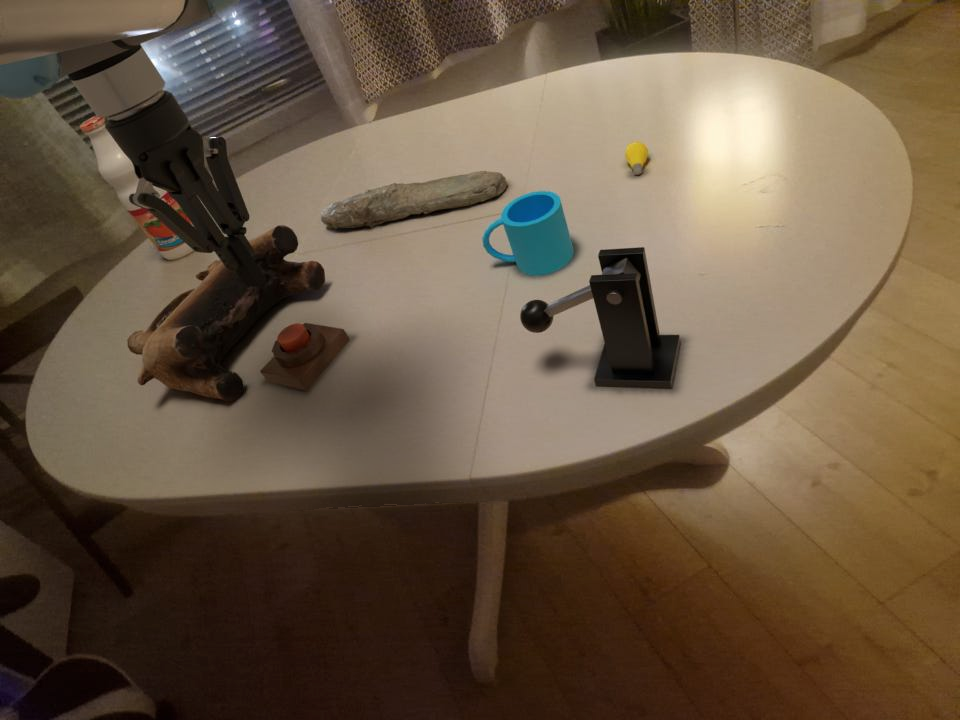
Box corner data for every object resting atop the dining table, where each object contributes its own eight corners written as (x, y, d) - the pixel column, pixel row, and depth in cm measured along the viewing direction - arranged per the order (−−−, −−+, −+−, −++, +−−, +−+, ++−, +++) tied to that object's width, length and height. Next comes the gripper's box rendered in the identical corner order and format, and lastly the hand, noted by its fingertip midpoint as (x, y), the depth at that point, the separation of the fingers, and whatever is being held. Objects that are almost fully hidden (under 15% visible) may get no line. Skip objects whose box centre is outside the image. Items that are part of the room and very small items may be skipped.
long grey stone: (504, 213, 105) (513, 184, 113) (497, 183, 102) (506, 156, 109) (316, 239, 116) (335, 211, 123) (304, 213, 113) (324, 185, 120)
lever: (530, 343, 71) (509, 321, 70) (539, 321, 73) (519, 300, 72) (639, 298, 62) (617, 272, 60) (645, 274, 64) (624, 248, 62)
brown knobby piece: (291, 198, 96) (194, 222, 110) (163, 358, 80) (69, 361, 94) (341, 262, 104) (245, 276, 118) (235, 419, 88) (137, 414, 102)
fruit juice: (196, 230, 139) (108, 105, 121) (212, 239, 132) (122, 109, 114) (158, 255, 135) (61, 130, 117) (173, 265, 129) (73, 135, 111)
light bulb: (644, 154, 102) (649, 136, 99) (646, 182, 99) (651, 165, 96) (623, 153, 102) (626, 136, 99) (624, 182, 100) (628, 164, 96)
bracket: (595, 387, 70) (568, 288, 61) (608, 342, 75) (584, 244, 66) (671, 389, 67) (653, 286, 58) (680, 342, 71) (665, 239, 62)
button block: (306, 391, 86) (292, 370, 83) (267, 382, 90) (252, 362, 88) (350, 340, 91) (337, 319, 89) (311, 333, 96) (298, 313, 93)
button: (297, 354, 86) (291, 345, 85) (277, 350, 88) (271, 341, 87) (315, 334, 88) (309, 324, 87) (296, 330, 91) (290, 321, 89)
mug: (575, 235, 92) (562, 185, 87) (573, 270, 87) (559, 219, 81) (495, 251, 96) (477, 204, 91) (488, 285, 90) (469, 237, 85)
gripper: (161, 78, 72) (270, 249, 87) (65, 139, 65) (202, 314, 80) (201, 71, 68) (308, 252, 83) (104, 135, 61) (240, 320, 76)
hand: (256, 282), depth 82 cm, fingers closed
